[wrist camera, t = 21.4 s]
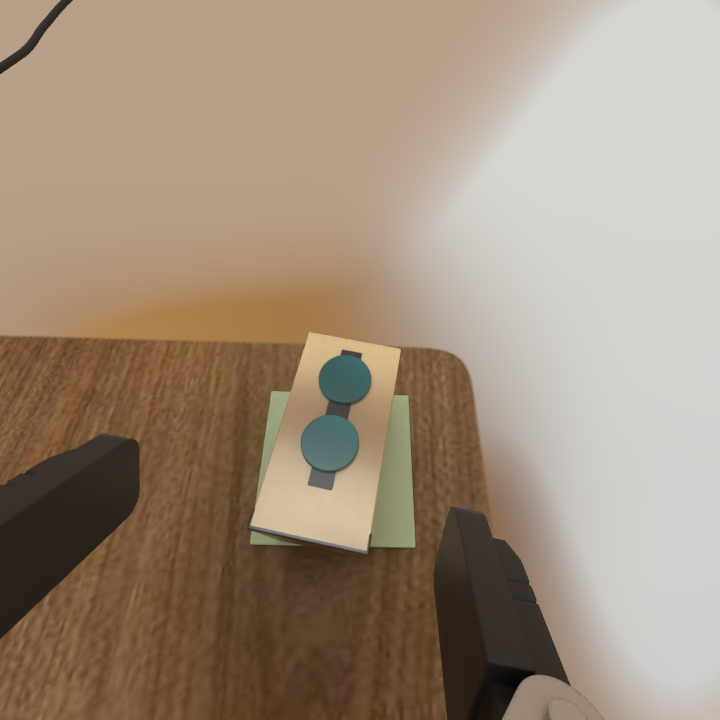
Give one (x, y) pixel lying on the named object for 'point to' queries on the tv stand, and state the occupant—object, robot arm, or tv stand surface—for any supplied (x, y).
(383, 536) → the pad
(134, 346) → the tv stand surface
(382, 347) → the holder
